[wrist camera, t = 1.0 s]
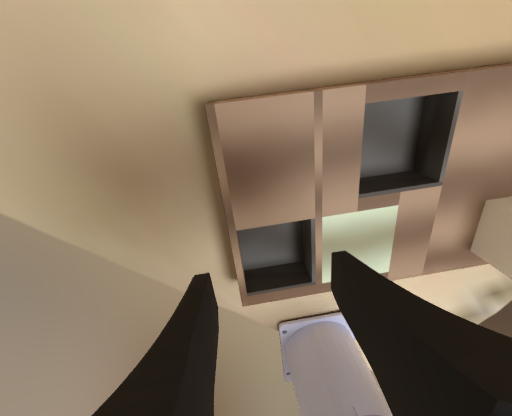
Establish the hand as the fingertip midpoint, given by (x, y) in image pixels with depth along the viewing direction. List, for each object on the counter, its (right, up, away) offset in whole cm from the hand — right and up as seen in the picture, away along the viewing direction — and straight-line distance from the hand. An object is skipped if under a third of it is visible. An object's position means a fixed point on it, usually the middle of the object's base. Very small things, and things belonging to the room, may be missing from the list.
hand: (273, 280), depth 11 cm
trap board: (+9, +5, +9) cm, 14 cm away
